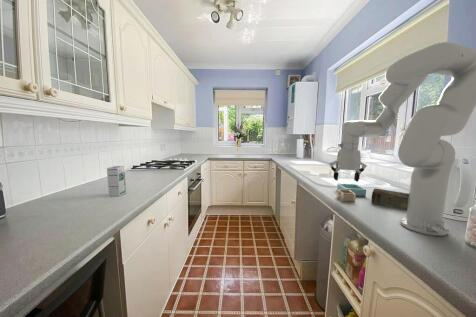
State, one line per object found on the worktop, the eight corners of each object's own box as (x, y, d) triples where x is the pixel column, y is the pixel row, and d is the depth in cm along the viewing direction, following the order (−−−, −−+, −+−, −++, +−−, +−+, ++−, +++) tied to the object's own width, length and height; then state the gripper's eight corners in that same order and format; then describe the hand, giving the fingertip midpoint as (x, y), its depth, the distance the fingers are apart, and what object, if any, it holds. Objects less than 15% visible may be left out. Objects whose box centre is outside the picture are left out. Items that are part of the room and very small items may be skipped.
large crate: (365, 196, 111) (366, 189, 110) (344, 195, 112) (345, 188, 111) (356, 190, 122) (356, 184, 122) (337, 190, 123) (337, 183, 123)
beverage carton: (423, 213, 89) (425, 198, 88) (370, 204, 101) (371, 190, 100) (421, 208, 95) (423, 194, 95) (372, 199, 107) (373, 187, 106)
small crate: (354, 201, 102) (355, 193, 102) (341, 201, 103) (342, 193, 102) (349, 197, 109) (349, 190, 109) (337, 196, 110) (337, 189, 109)
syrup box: (119, 196, 105) (118, 167, 103) (108, 196, 105) (106, 167, 103) (126, 193, 111) (124, 166, 109) (115, 192, 111) (113, 165, 109)
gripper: (333, 146, 100) (330, 181, 103) (372, 147, 98) (367, 183, 101) (328, 145, 108) (325, 177, 110) (364, 146, 106) (360, 179, 108)
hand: (345, 180), depth 105 cm, fingers open, 9 cm apart
